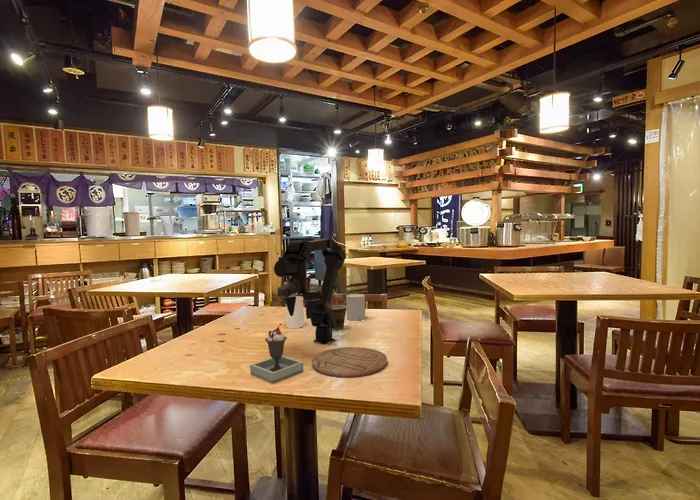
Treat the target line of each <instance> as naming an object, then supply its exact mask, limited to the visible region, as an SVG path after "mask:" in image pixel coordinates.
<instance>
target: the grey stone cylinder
mask: <svg viewBox="0 0 700 500" xmlns="http://www.w3.org/2000/svg"><path fill="white" fill-rule="evenodd" d="M345 298H346V299H345V300H346V301H345V302H346V305H345V306H346V321H347V320H349V321H362V320H365V319H366V300H365V299H366V295H365V294H361V293H352V294H350V293H349V294H347V295H345ZM349 321H348V322H349ZM365 321H366V320H365ZM362 322H363V321H362Z"/></svg>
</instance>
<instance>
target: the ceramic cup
mask: <svg viewBox="0 0 700 500" xmlns="http://www.w3.org/2000/svg"><path fill="white" fill-rule="evenodd" d="M331 307H332V316H333V317H334V318H335V320H336V326H334V328H332V331H341V330H343V329H344V327H345V321H346V316H347V307H346V305H343V304H332V305H331Z"/></svg>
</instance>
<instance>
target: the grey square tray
mask: <svg viewBox="0 0 700 500" xmlns="http://www.w3.org/2000/svg"><path fill="white" fill-rule="evenodd" d="M274 366H275V360H274V359H273V358H272V357H270V358H268V359H264V360H261V361H258V362H254V363H251V364H250V375H252V376H254V377H256V378H258V379H260V380H261V379H262V380H263V381H265V382H269V383H270V384H276V383H278V382H281V381H284V380H286V379H289V378H291V377H293V376H296V375H299V374H301V373H303V372H304V361H301V360H297V359H294V358H291V357H287V356H284V355H282V357H281V358H280V359H279V366H280V367H283V369H280V370H278V371H275V372H272V371H269V370H270V369H271V368H274Z"/></svg>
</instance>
